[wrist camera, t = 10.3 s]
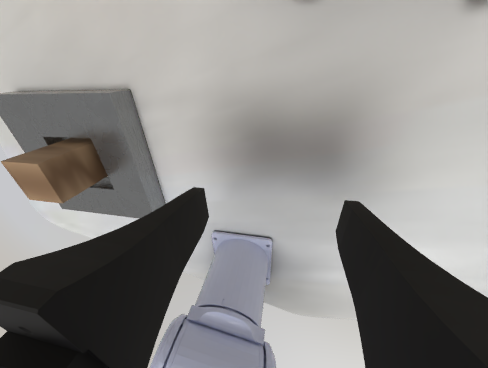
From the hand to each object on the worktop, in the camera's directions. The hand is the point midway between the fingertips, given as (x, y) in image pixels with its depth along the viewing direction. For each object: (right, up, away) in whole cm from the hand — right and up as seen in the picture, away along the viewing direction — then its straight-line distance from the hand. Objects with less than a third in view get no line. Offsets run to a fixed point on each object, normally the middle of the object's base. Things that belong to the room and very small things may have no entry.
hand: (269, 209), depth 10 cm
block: (-19, +5, +13) cm, 23 cm away
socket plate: (-19, +5, +13) cm, 23 cm away
